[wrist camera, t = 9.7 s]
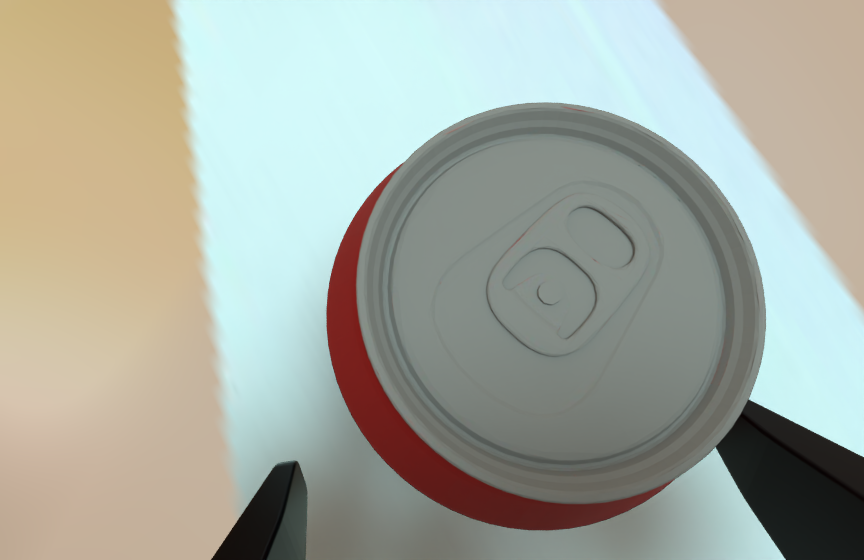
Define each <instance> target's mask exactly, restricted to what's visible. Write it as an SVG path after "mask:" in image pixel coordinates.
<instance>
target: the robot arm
mask: <svg viewBox="0 0 864 560" xmlns="http://www.w3.org/2000/svg"><path fill="white" fill-rule="evenodd" d="M716 449H717V451H718V453H719V454H720V456H721V458H722V460H723V462H724V463H725V465H726V467H727V469H728V471H729V472H730V474H731V476H732V478H733V480H734V481H735V483H736V485H737V487H738V488H739V490H740V492H741V494H742V495H743V497H744V499H745V500H746V502H747V503H748V505H749V506H750V508H751V509H752V511H753V512H754V514H755V515H756V517H757V518H758V520H759V521H760V523H761V524H762V525H763V527H764V528H765V530H766V531H767V533H768V534H769V536H770V537H771V539H772V540H773V542H774V543H775V545H776V546H777V547H778V549H779V550H780V552H781V553H782V555H783V556H784V558H785V559H786V560H864V457H862V456H860V455H858V454H856V453H854V452H852V451H850V450H848V449H846V448H844V447H842V446H840V445H838V444H836V443H834V442H832V441H830V440H828V439H826V438H824V437H822V436H820V435H818V434H816V433H814V432H812V431H810V430H808V429H806V428H804V427H802V426H800V425H798V424H796V423H794V422H792V421H790V420H789V419H787V418H785V417H783V416H781V415H779V414H777V413H775V412H773V411H771V410H769V409H767V408H765V407H763V406H761V405H759V404H757V403H755V402H753V401H751V400H749V399H748V401H747V403H746V405H745V406H744V408H743V410H742V412H741V414H740V415H739V417H738V419H737V420H736V422H735V423H734V425H733V427H732V428H731V429H730V430H729V432H728V433H727V434H726V435H725V436H724V438H723V439H722V440H721V441H720V442H719V443H718V444H717V445H716ZM306 526H307V487H306V483H305V480H304V477H303V474H302V471H301V468H300V465H299V463H298V462H297V461H288V462H281V463H278V464H277V465H275V467H274V468H273V469H272V471H271V472H270V474H269V475H268V477H267V478H266V480H265V481H264V483H263V484H262V486H261V487H260V488H259V490H258V491H257V493H256V494H255V496H254V497H253V499H252V500H251V502H250V503H249V505H248V506H247V508H246V509H245V511H244V512H243V513H242V515H241V516H240V518H239V519H238V521H237V522H236V524H235V525H234V527H233V528H232V530H231V531H230V533H229V534H228V536H227V537H226V539H225V540H224V541H223V543H222V545H221V546H220V547H219V549H218V550H217V552H216V553H215V555H214V556H213V558H212V559H211V560H305V558H306Z"/></svg>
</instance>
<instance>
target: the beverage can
mask: <svg viewBox="0 0 864 560" xmlns="http://www.w3.org/2000/svg"><path fill="white" fill-rule="evenodd" d="M765 331H766V308H765V298H764V290H763V284H762V277H761V274H760V270H759V266H758V263H757V259H756V256H755V253H754V250H753V247H752V244H751V242H750V240H749V238H748V236H747V234H746V231H745V229H744V227H743V225H742V223H741V221H740V219H739V218H738V216H737V214H736V212H735V211H734V209H733V208H732V206H731V205H730V203H729V202H728V200H727V199H726V197H725V196H724V195H723V193H722V192H721V191H720V189H719V188H718V187H717V185H716V184H715V183H714V182H713V181H712V179H711V178H710V177H709V176H708V175H707V174H706V173H705V172H704V171H703V170H702V169H701V168H700V167H699V166H698V165H697V164H696V163H695V162H694V161H693V160H692V159H690V158H689V157H688V156H687V155H686V154H684V153H683V152H682V151H681V150H679V149H678V148H677V147H675V146H674V145H673V144H671V143H670V142H668V141H667V140H666V139H664V138H663V137H661V136H659V135H657V134H656V133H654V132H652V131H650V130H649V129H647V128H645V127H643V126H641V125H639V124H637V123H635V122H632V121H630V120H628V119H625V118H623V117H620V116H617V115H615V114H612V113H609V112H605V111H602V110H598V109H594V108H590V107H585V106H579V105H572V104H563V103H525V104H517V105H511V106H505V107H500V108H496V109H492V110H489V111H486V112H483V113H479V114H477V115H474V116H471V117H468V118H466V119H464V120H462V121H460V122H458V123H456V124H454V125H452V126H450V127H449V128H447V129H445V130H443V131H441V132H440V133H438V134H437V135H435V136H434V137H433V138H431V139H430V140H429V141H427V142H426V143H425V144H424V145H422V146H421V147H420V148H419V149H417V150H416V151H415V152H414V153H413V154H412V155H411V156H410V157H409V158H408V159H407V160H406V161H405V162H404V163H402V164H401V165H400V166H398V167H397V168H396V169H395V170H394V171H393V172H391V173H390V174H389V175H388V176H387V177H386V178H385V179H384V180H383V181H382V182H381V183H380V184H379V185H378V186H377V187H376V188H375V189H374V191H373V192H372V193H371V194H370V195H369V197H368V198H367V199H366V200H365V202H364V203H363V205H362V206H361V207H360V209H359V210H358V212H357V213H356V215H355V216H354V218H353V220H352V222H351V223H350V225H349V227H348V229H347V231H346V233H345V235H344V237H343V239H342V242H341V244H340V247H339V249H338V252H337V255H336V258H335V261H334V265H333V269H332V273H331V277H330V283H329V289H328V297H327V336H328V346H329V351H330V356H331V361H332V366H333V369H334V373H335V376H336V380H337V383H338V385H339V388H340V391H341V393H342V396H343V398H344V401H345V403H346V405H347V407H348V409H349V411H350V413H351V415H352V417H353V419H354V420H355V422H356V424H357V425H358V427H359V428H360V430H361V432H362V433H363V435H364V436H365V437H366V439H367V440H368V442H369V443H370V444H371V446H372V447H373V448H374V450H375V451H376V452H377V453H378V454H379V455H380V456H381V458H382V459H383V460H384V461H385V462H386V463H387V464H388V465H389V466H390V467H391V468H392V469H393V470H394V471H395V472H396V473H397V474H398V475H399V476H400V477H402V478H403V479H404V480H405V481H407V482H408V483H409V484H410V485H412V486H413V487H414V488H415V489H417V490H418V491H420V492H421V493H423V494H424V495H426V496H427V497H429V498H430V499H432V500H434V501H435V502H437V503H439V504H441V505H443V506H445V507H447V508H449V509H450V510H452V511H455V512H457V513H460V514H462V515H465V516H467V517H469V518H472V519H475V520H479V521H482V522H485V523H488V524H493V525H497V526H502V527H507V528H514V529H523V530H559V529H570V528H575V527H580V526H586V525H590V524H593V523H597V522H600V521H604V520H607V519H609V518H612V517H614V516H617V515H619V514H622V513H624V512H626V511H628V510H630V509H632V508H634V507H636V506H638V505H640V504H642V503H644V502H645V501H647V500H648V499H650V498H651V497H653V496H654V495H656V494H657V493H659V492H660V491H661V490H662V489H664V488H665V487H666V486H667V485H669V484H670V483H671V482H672V481H673V480H675V479H676V478H677V477H679V476H680V475H682V474H683V473H685V472H686V471H688V470H689V469H690V468H692V467H693V466H694V465H696V464H697V463H698V462H699V461H701V460H702V459H703V458H705V457H706V456H707V455H708V454H709V453H710V452H711V451H712V450H713V449H714V448H715V447H716V445H717V444H718V443H719V442H720V441H721V440H722V439H723V438H724V436H725V435H726V434H727V433H728V432H729V430H730V429H731V428H732V427H733V425H734V423H735V422H736V420H737V419H738V417H739V415H740V414H741V412H742V410H743V408H744V406H745V405H746V403H747V401H748V399H749V397H750V395H751V392H752V389H753V386H754V384H755V381H756V378H757V375H758V372H759V368H760V365H761V360H762V355H763V350H764V342H765Z"/></svg>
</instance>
